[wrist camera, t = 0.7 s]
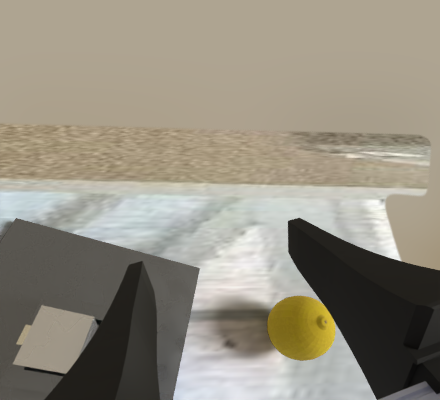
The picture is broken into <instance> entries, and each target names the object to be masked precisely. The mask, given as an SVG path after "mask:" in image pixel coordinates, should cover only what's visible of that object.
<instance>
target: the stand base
mask: <svg viewBox="0 0 440 400" xmlns="http://www.w3.org/2000/svg"><path fill="white" fill-rule="evenodd" d="M140 261H143V263H144V266H145V268H146V271H147V273H148V276H149V279H150V281H151V284H152V287H153V289H154V293H155V300H156V309H157V372H158V382H159V393H160V400H173V395H174V391H175V386H176V381H177V376H178V371H179V366H180V362H181V357H182V352H183V347H184V342H185V337H186V332H187V328H188V323H189V318H190V313H191V308H192V303H193V299H194V294H195V289H196V284H197V279H198V274H199V269H200V268H197V267H193V266H189V265H186V264H182V263H178V262H175V261H171V260H167V259H164V258H160V257H156V256H153V255H149V254H145V253H142V252H138V251H134V250H131V249H127V248H123V247H120V246H116V245H112V244H109V243H105V242H101V241H98V240H94V239H90V238H87V237H83V236H79V235H76V234H72V233H68V232H65V231H61V230H57V229H54V228H50V227H46V226H43V225H39V224H35V223H32V222H28V221H24V220H21V219H17V218H16V219H15V220H14V222H13V223H12V225H11V227H10V228H9V230H8V231H7V233H6V234H5V236H4V237H3V239H2V240H1V242H0V400H44V399H45V398H46V397H47V396H48V395H49V393H50V392H51V391H52V390H53V389H54V388H55V387H56V385H57V384H58V383H59V382H60V380H61V379H62V378H63V377H64V376H65V373H60V372H54V371H48V370H43V369H37V368H31V367H26V366H20V365H15V364H13V362H14V360H15V358H16V356H17V354H18V352H19V350H20V348H21V346H22V344H23V342H24V340H25V338H26V336H27V334H28V332H29V330H30V328H31V326H32V324H33V322H34V320H35V318H36V316H37V314H38V312H39V310H40V308H41V306H42V305H43V306H48V307H52V308H57V309H61V310H66V311H70V312H75V313H79V314H84V315H89V316H93V317H94V318H95V321H96V323H97V325H98V326H100V324H101V322H102V320H103V318H104V317H105V315H106V313H107V311H108V309H109V307H110V306H111V304H112V301H113V299H114V297H115V295H116V293H117V291H118V289H119V287H120V284H121V282H122V280H123V277H124V275H125V272H126V270H127V267H128V266H129V264H133V263H137V262H140Z"/></svg>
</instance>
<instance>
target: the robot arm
mask: <svg viewBox="0 0 440 400" xmlns="http://www.w3.org/2000/svg"><path fill="white" fill-rule="evenodd" d="M288 251H289V254H290V256H291V258H292V260H293V262H294V263H295V265H296V267H297V269H298V270H299V272H300V273H301V274H302V276H303V277H304V278H305V280H306V281H307V283H308V284H309V285H310V287H311V288H312V289H313V291H314V292H315V293H316V295H317V296H318V297H319V299H320V300H321V301H322V303H323V304H324V305H325V307H326V308H327V310H328V311H329V313H330V314H331V316H332V318H333V319H334V321H335V323H336V324H337V326H338V328H339V329H340V331H341V333H342V335H343V336H344V338H345V340H346V342H347V343H348V345H349V347H350V349H351V351H352V352H353V354H354V356H355V358H356V360H357V362H358V364H359V366H360V367H361V369H362V371H363V373H364V375H365V377H366V379H367V381H368V383H369V385H370V387H371V389H372V391H373V393H374V395H375V397H376V399H377V400H440V270H435V269H430V268H426V267H421V266H416V265H413V264H408V263H405V262H401V261H398V260H394V259H391V258H388V257H385V256H382V255H379V254H376V253H373V252H370V251H368V250H365V249H363V248H360V247H358V246H355V245H353V244H351V243H348V242H346V241H344V240H342V239H340V238H338V237H336V236H334V235H332V234H330V233H328V232H326V231H324V230H322V229H320V228H318V227H316V226H314V225H312V224H310V223H309V222H307V221H305V220H303V219H301V218H297V219H294V220H290V221H288ZM44 400H160V393H159V382H158V372H157V309H156V300H155V293H154V289H153V287H152V284H151V281H150V279H149V276H148V273H147V271H146V268H145V266H144V263H143V261H140V262H137V263H133V264H129V266H128V267H127V270H126V272H125V275H124V277H123V280H122V282H121V284H120V287H119V289H118V291H117V293H116V295H115V297H114V299H113V301H112V304H111V306H110V307H109V309H108V311H107V313H106V315H105V317H104V318H103V320H102V322H101V324H100V326H99V327H98V329H97V331H96V332H95V334H94V335H93V337H92V338H91V340H90V342H89V343H88V345H87V346H86V347H85V349H84V350H83V352H82V353H81V355H80V356H79V357H78V359H77V360H76V362H75V363H74V364H73V366H72V367H71V368H70V369H69V371H68V372H67V373H66V374H65V376H64V377H63V378H62V379H61V380H60V382H59V383H58V384H57V385H56V387H55V388H54V389H53V390H52V391H51V392H50V393H49V395H48V396H47V397H46V398H45V399H44Z"/></svg>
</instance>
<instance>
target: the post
mask: <svg viewBox="0 0 440 400" xmlns="http://www.w3.org/2000/svg"><path fill="white" fill-rule="evenodd" d="M98 327H99V326H98V325H97V323H96V321H95V318H94V317H93V316H89V315H84V314H79V313H75V312H70V311H66V310H61V309H57V308H52V307H48V306H43V305H42V306H41V308H40V310H39V312H38V314H37V316H36V318H35V320H34V322H33V324H32V326H31V328H30V330H29V332H28V334H27V336H26V338H25V340H24V342H23V344H22V346H21V348H20V350H19V352H18V354H17V356H16V358H15V360H14V362H13V364H15V365H20V366H26V367H31V368H37V369H43V370H48V371H54V372H60V373H65V374H66V373H67V372H68V371H69V369H70V368H71V367H72V366H73V364H74V363H75V362H76V360H77V359H78V357H79V356H80V355H81V353H82V352H83V350H84V349H85V347H86V346H87V345H88V343H89V342H90V340H91V338H92V337H93V335H94V334H95V332H96V331H97V329H98Z"/></svg>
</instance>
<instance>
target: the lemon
mask: <svg viewBox="0 0 440 400" xmlns="http://www.w3.org/2000/svg"><path fill="white" fill-rule="evenodd" d="M267 330H268V335H269V337H270V340H271V342H272V344H273V345H274V347H275V348H276V349H277V350H278V351H279V352H280V353H281V354H283V355H285V356H287V357H289V358H291V359H295V360H300V361H303V360H312V359H315V358H317V357H319V356H321V355H323V354H324V353H326V351H327V350H328V349H329V348H330V347H331V345H332V343H333V341H334V338H335V324H334V320H333V318H332V316H331V314H330V313H329V311H328V310H327V308H326V307H325V306H324V305H323V304H322V303H320V302H319V301H318V300H315V299H313V298H310V297H305V296H293V297H288V298H285V299H284V300H282V301H280V302H278V303H277V304H276V305H275V306H274V307H273V309H272V310H271V312H270V314H269V317H268V321H267Z"/></svg>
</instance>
